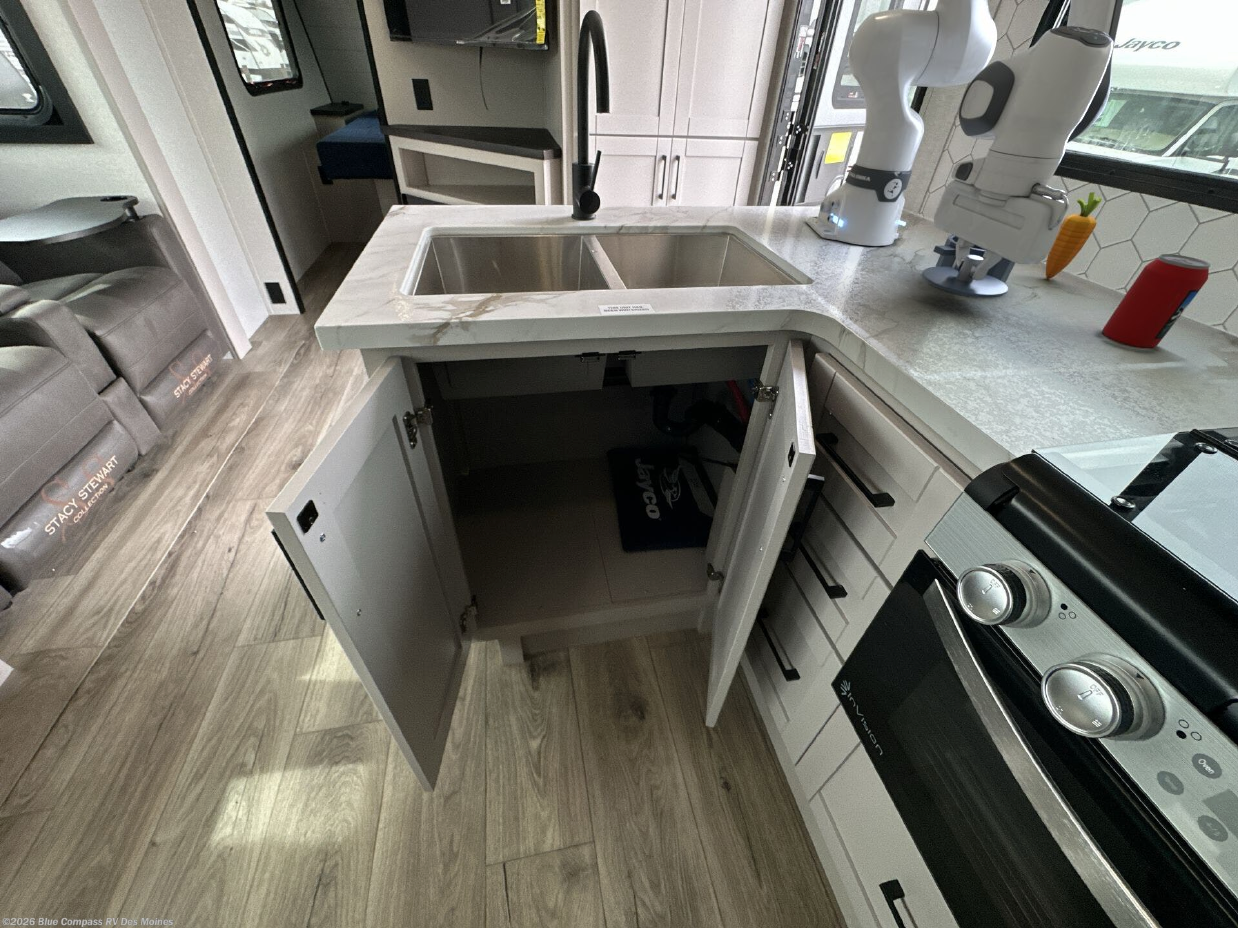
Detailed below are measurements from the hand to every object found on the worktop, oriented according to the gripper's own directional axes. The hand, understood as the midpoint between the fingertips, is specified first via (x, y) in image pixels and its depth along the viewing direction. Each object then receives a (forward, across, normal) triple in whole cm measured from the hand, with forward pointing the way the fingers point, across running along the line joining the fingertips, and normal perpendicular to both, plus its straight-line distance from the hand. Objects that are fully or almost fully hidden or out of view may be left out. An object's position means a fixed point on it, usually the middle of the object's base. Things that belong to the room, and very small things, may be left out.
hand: (966, 274), depth 81 cm
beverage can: (+5, -15, -19) cm, 24 cm away
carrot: (+6, +12, -31) cm, 34 cm away
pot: (+6, +9, -10) cm, 15 cm away
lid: (+1, 0, 0) cm, 1 cm away
